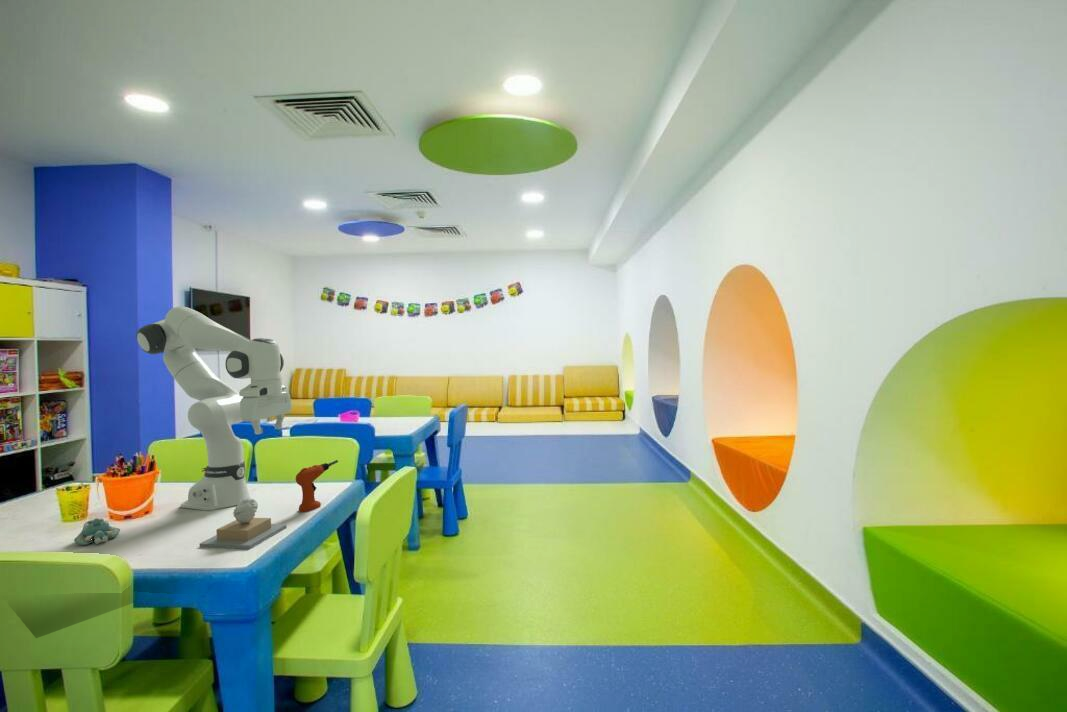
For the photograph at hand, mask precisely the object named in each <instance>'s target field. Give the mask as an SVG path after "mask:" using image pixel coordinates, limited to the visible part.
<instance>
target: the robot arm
mask: <svg viewBox="0 0 1067 712" xmlns="http://www.w3.org/2000/svg"><path fill="white" fill-rule="evenodd" d="M136 341H137V343H138V345H139V347H140V349H142V351H144V352H145V353H147V354H148V355H157V354H162V353H163V355H162V360H163V363H164V365H165V366H166V369H167V370H168V372H169V373H170V375H171V376H172V378H173V379H174V381H176V383H177V384H178V385H179V386H180V388H181V389H182V390H183V391H184V393H185V394H186V395H187V396H188V397H190V398H192V399H194V400H198V401H197V402H194V403H193V404H191V405H190V407H189V408H188V411H187V419H188V422H189V424H190V426H192V427H193V428H195V429H196V430H197V431H199V433H200V434H201V436H202V438H203V439H204V441H205V442H204V443H205V446H206V453H207V454H206V455H207V466H205V467H203V468H201V471H200V472H201V473H203V472H204V474H203V477H201V478H200V479H199V480H198V481H196V483H194V484H193V485H192V486H191V487H190V488H189V490H188V492H187V493H188V494H187V500H185V501H182V503H181V504H180V505H179V506H180V508H185V509H194V510H200V511H208V512H209V511H213V510H217V509H221V508H222V509H223V508H229V507H232V506H233V507H234V506H237V505H238V504H239V503H241V502H242V501H243V499H247V498H250V499H251V495H250V493H249V490H248V486H247V481H246V476H245V475H246V462H245V460H244V448H243V447H244V446H243V444H244V443H243V441H242V439H241V438H240V437H238V436H236V435H235V433H234V430H233V428H232V425H236V424H240V423H243V422H246V423H247V422H248V423H250V424H251V426H252V428H253V430H254V434H255V435H261V434H263V433H264V431H263V429H264V428H263V427H261V425H260V424H261V420H265V419H268V418H273V417H275V418H276V421H275V423H274V425H273V426H274V430H280V429H282V428H283V422H284V419H285V415H286V414H290V413H291V412H292V409H293V406H292V399H291V394H290V392H289V389H288V388H287V387H286V386H284V385H283V383H282V380H283V379H282V375H281V371H282V370H283V369H284V366H285V365H284V363H285V360H284V358H283V354H282V353H281V352H280V347H279V344H278V342H277V341H276V340H274V339H271V338H264V337H263V338H261V337H259V338H253V339H249V338H248V337H247V336H244V335H242V334H240V333H238V332H236V331H233V330H231V329H230V328H227V327H225V326H223V325H222V324H220V323H217V322H216V321H214V320H212V319H210V318H209V317H207V316H206V315H204V314H203V313H201V312H199V311H197V310H195V309H192V308H190V307H187V306H176V307H173V308H171V309H170V310H169V311H168V312H167V313H166V315H165V318H164V319H162V320H158V321H157V322H153V323H148V324H145V325H143V326H142V327H140V328H138V330H137V333H136ZM197 350H199V351H200V350H201V351H213V352H214V351H218V352H221V351H222V352H229V353H228V354H227V356H226V359H225V369H226V372H227V374H228V375H230V377H232V378H234V379H237V380H238V379H239V380H242V379H243V380H245V379H250V384H248V385H246V386H245V387H243V388H241V389H240V390H239V391H237V390H235V388H233V387H231V386H230V385H228V384H227V383H225V381H223V380H222V379H220V378H219V376H218V375H216V374H215V372H214V371H213V370H212V369H211V367H210V366H208V364H207V363H206V362H205V361H204V359H203V358H202V357H201V356H200V355H199V354H198V352H197Z"/></svg>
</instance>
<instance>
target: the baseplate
mask: <svg viewBox="0 0 1067 712" xmlns="http://www.w3.org/2000/svg"><path fill="white" fill-rule="evenodd" d="M271 520H272V517H254V518H253V519H252V520H251V521H250V522H248V523H239V522H238V521H237V520H236V519H235V520H233V521H231V522H229V523H227V524H225V525H223V526H221V527H219V528H217V529H216V535H213V536H212V537H210V538H208V539H206V540H204V541H202V542H200V543H199V548H215V549H216V548H217V549H219V548H220V549H238V548H240V550H241V548H243V549H244V550H247V549H248V550H251V549H253V548H254V547H256V546H257V544H258V545H260V544H262V541H263V542H264V540H265V541H266V540H268V539H270V538H272V537H273V536H275V535H277V534H278V533H280V532H282V531H283V530H285V529H287V528H286V527H287V524H285V523H284V524H281V523H277V524H276V523H272V521H271ZM269 537H270V538H269ZM255 545H256V546H255ZM252 547H253V548H252ZM250 548H251V549H250Z"/></svg>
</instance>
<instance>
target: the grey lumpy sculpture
mask: <svg viewBox="0 0 1067 712" xmlns="http://www.w3.org/2000/svg"><path fill="white" fill-rule="evenodd" d="M258 507H259V505H258V502H257V500H255V499H252V498H251V497H250V498H247V499H243V501H242V502H241V503H239V504H238V505H235V508H234V509H233V513H232V514H233V517H234V518H235V520H237V521H238V522H239V523H248V522H250V521H251V520H252V519H253V518H255V516H256V514H255V513H256V512H257V510H258Z"/></svg>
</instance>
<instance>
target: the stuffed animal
mask: <svg viewBox="0 0 1067 712" xmlns="http://www.w3.org/2000/svg"><path fill="white" fill-rule="evenodd" d="M120 531H121V529H120V527H119V528H118V527H115V526H111V525H110V523H109V521H108V520H107V519H104V518H102V517H101V518H99V517H96V518H93V520H92V519H91V520H88V521H86V522H85V523H84V524H83V527H82V530H81V532H80V533H79V534H78V535H77V536H76V537H75V538H74V540H73V541H74V543H75V544H77V545H79V546H82V545H83V546H89V545H91V544H92V543H91V542H92V541H93V542H94V543H95V544H96V545H98V544H100V543H106V542H108V541H109V540H113V539H115V538H116V537H117V536H118V535H119V533H120ZM114 537H115V538H114ZM112 538H113V539H112ZM91 539H94V540H91ZM90 543H91V544H90Z"/></svg>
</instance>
